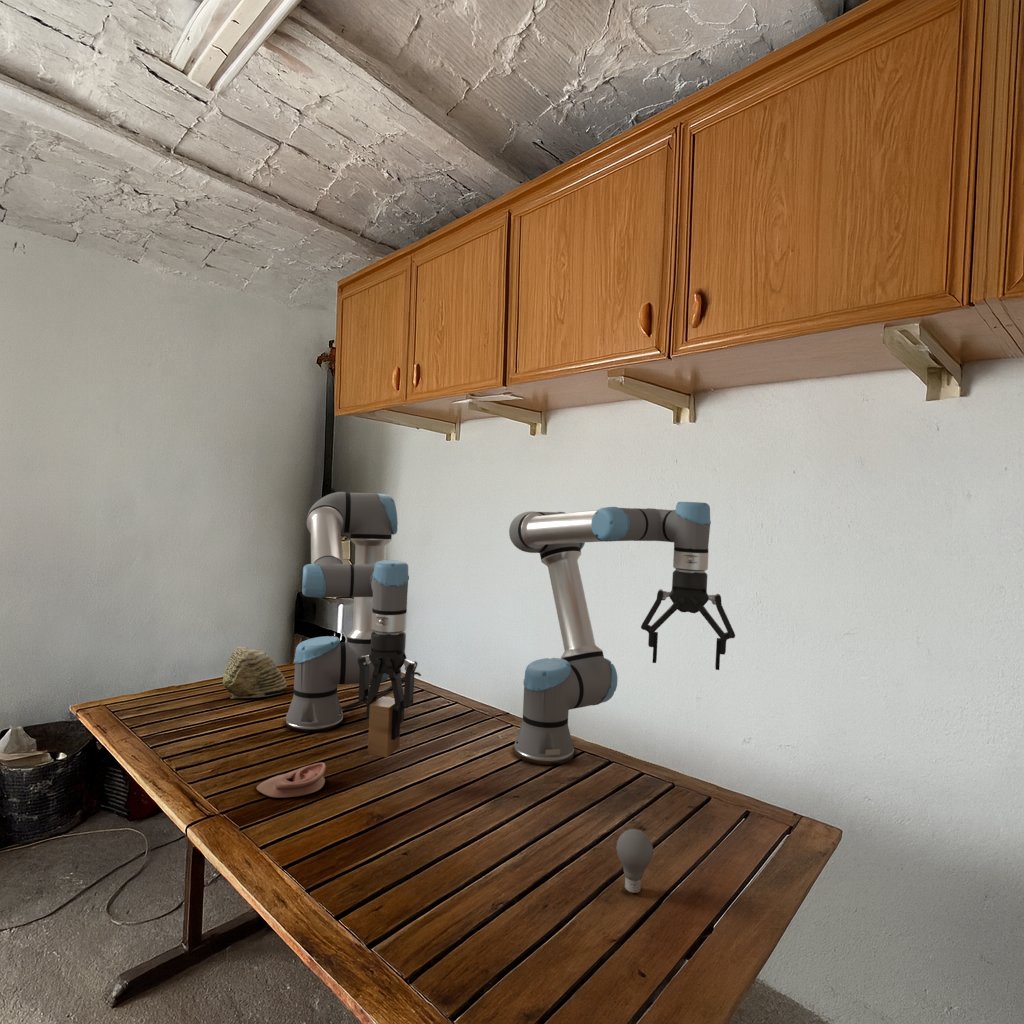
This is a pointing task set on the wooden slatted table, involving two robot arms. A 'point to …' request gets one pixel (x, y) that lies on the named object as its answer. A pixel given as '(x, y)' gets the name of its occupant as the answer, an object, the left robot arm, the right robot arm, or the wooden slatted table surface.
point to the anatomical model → (295, 782)
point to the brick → (381, 728)
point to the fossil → (252, 674)
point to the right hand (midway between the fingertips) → (685, 665)
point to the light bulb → (634, 857)
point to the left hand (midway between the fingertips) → (384, 735)
